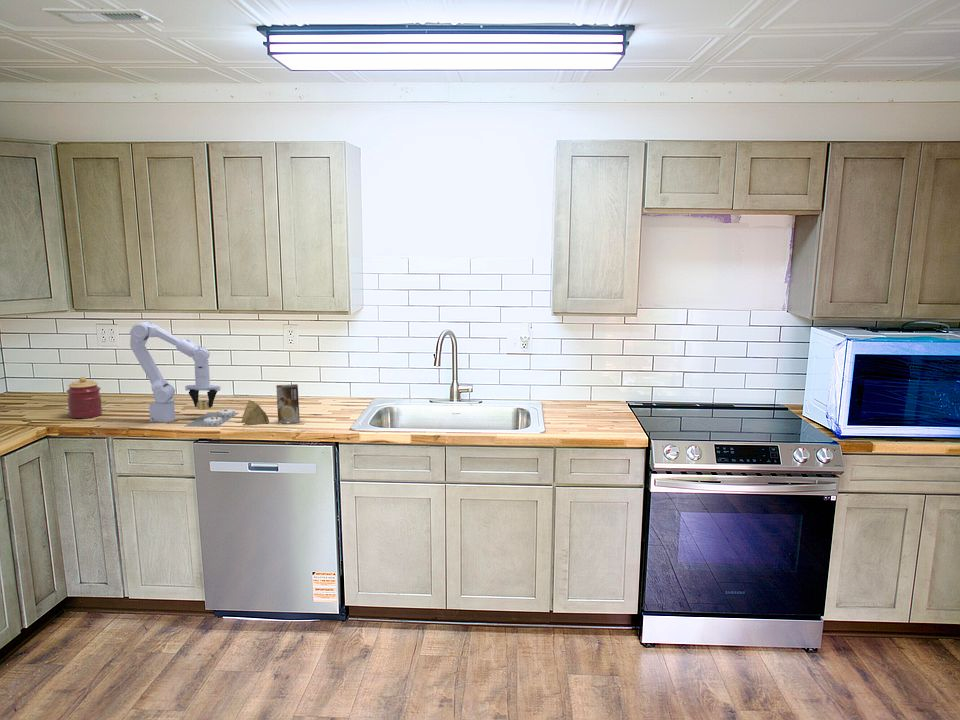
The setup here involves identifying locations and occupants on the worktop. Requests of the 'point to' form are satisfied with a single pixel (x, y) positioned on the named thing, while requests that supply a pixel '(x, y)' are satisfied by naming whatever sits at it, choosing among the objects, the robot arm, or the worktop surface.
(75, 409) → the canister
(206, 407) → the brass gear
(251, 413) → the rock
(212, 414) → the gear board
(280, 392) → the coffee box
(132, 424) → the worktop surface
